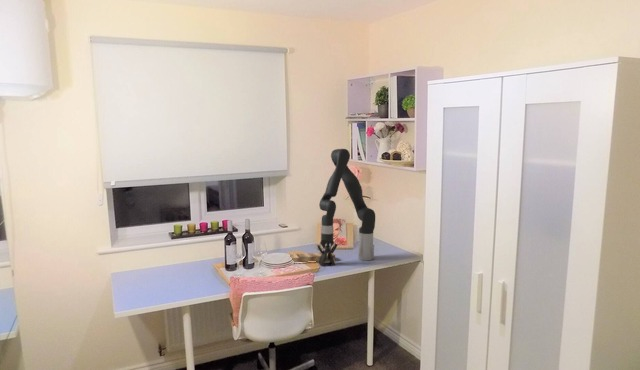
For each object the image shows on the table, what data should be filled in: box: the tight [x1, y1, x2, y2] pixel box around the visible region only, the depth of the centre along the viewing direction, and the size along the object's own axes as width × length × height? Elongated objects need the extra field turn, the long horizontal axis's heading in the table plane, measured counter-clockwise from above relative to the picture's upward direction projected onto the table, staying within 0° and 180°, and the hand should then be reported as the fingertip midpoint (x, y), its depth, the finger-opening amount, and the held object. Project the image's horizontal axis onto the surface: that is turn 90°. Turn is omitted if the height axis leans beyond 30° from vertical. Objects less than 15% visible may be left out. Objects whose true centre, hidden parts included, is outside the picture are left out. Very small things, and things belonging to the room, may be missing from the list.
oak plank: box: [289, 252, 336, 264], centre depth 282 cm, size 28×8×4 cm, turn 106°
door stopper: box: [318, 246, 336, 267], centre depth 274 cm, size 9×6×12 cm, turn 106°
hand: (326, 259), depth 275 cm, fingers closed on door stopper, 1 cm apart
